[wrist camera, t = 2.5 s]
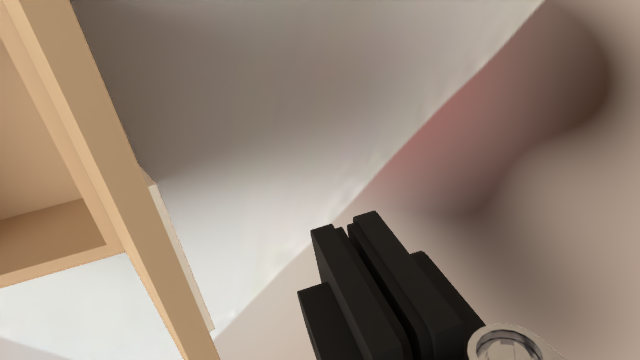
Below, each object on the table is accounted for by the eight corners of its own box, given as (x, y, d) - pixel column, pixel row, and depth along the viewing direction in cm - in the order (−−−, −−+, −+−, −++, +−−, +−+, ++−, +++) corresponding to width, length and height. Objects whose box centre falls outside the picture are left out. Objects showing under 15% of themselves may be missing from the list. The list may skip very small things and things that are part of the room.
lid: (-1, -7, 19) (25, -12, 19) (126, 252, 25) (143, 244, 26) (15, -7, 8) (73, -19, 8) (226, 438, 15) (252, 419, 15)
